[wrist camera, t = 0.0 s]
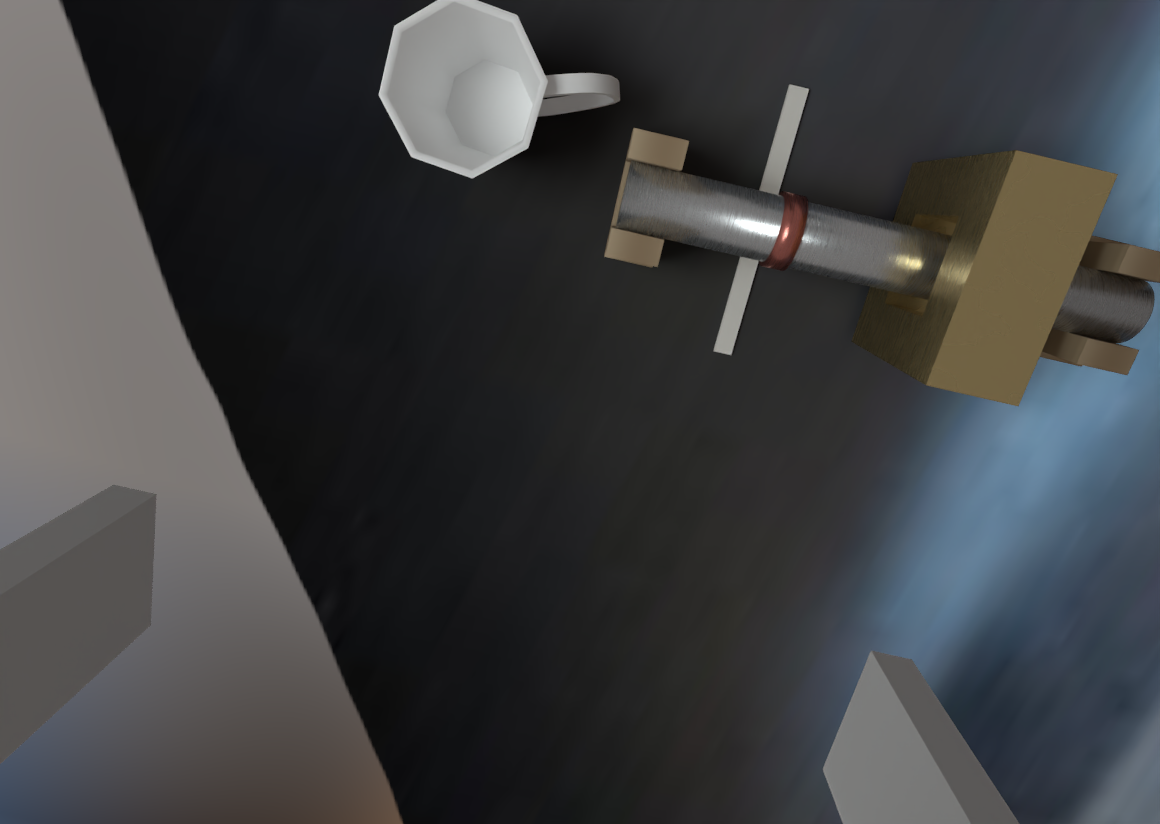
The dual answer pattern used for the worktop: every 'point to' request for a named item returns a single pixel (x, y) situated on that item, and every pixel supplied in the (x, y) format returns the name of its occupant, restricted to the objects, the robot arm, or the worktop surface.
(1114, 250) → the cradles
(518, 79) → the cup
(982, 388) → the collar
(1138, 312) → the pipe
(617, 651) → the worktop surface
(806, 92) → the tick mark
